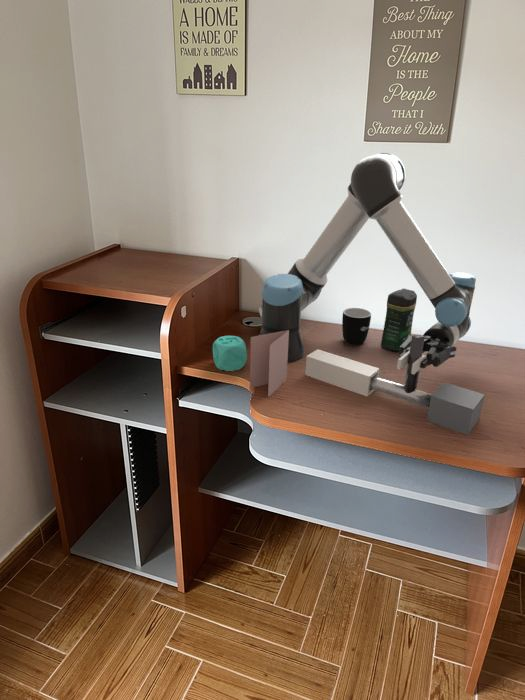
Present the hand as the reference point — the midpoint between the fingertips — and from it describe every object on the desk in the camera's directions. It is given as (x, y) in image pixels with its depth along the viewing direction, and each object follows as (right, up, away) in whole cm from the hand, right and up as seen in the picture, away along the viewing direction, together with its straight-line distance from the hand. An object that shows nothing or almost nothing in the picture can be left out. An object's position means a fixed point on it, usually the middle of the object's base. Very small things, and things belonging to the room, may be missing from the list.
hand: (406, 366), depth 130 cm
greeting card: (-32, -6, +16) cm, 36 cm away
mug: (-4, +7, +47) cm, 48 cm away
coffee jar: (+8, +5, +43) cm, 44 cm away
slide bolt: (-2, -7, +12) cm, 14 cm away
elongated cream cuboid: (-12, -5, +20) cm, 24 cm away
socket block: (+12, -13, +3) cm, 18 cm away
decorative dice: (-44, -1, +27) cm, 52 cm away
